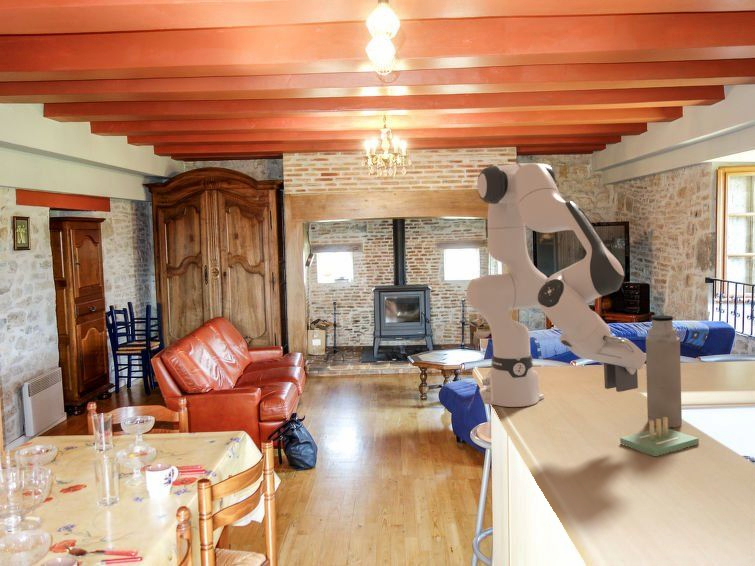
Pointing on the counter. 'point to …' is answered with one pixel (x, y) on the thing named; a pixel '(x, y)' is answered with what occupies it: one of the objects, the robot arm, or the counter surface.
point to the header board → (659, 439)
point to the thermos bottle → (663, 372)
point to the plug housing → (619, 378)
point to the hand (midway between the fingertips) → (622, 369)
